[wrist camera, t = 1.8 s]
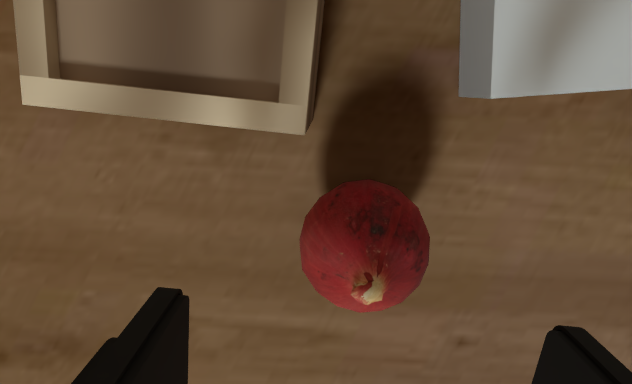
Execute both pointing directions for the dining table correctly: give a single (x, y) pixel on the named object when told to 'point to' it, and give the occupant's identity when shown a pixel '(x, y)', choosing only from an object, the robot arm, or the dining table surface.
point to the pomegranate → (364, 246)
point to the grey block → (544, 47)
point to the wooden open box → (174, 59)
